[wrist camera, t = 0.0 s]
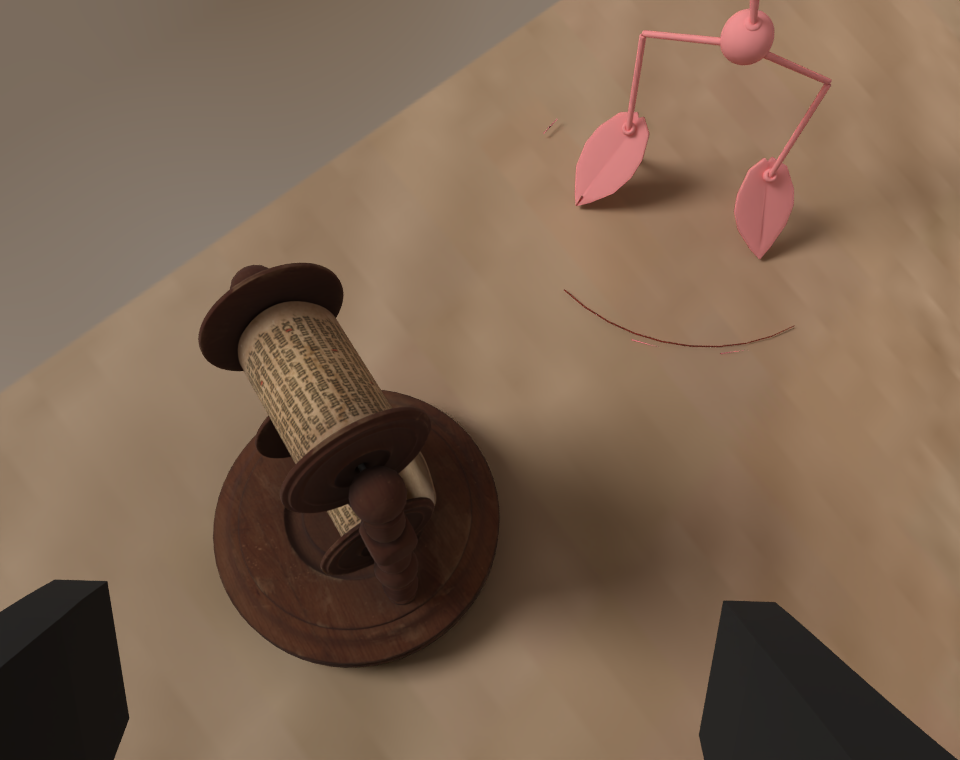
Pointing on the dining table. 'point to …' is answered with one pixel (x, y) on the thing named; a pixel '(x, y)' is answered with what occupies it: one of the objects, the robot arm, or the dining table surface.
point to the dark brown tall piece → (340, 486)
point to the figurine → (626, 137)
